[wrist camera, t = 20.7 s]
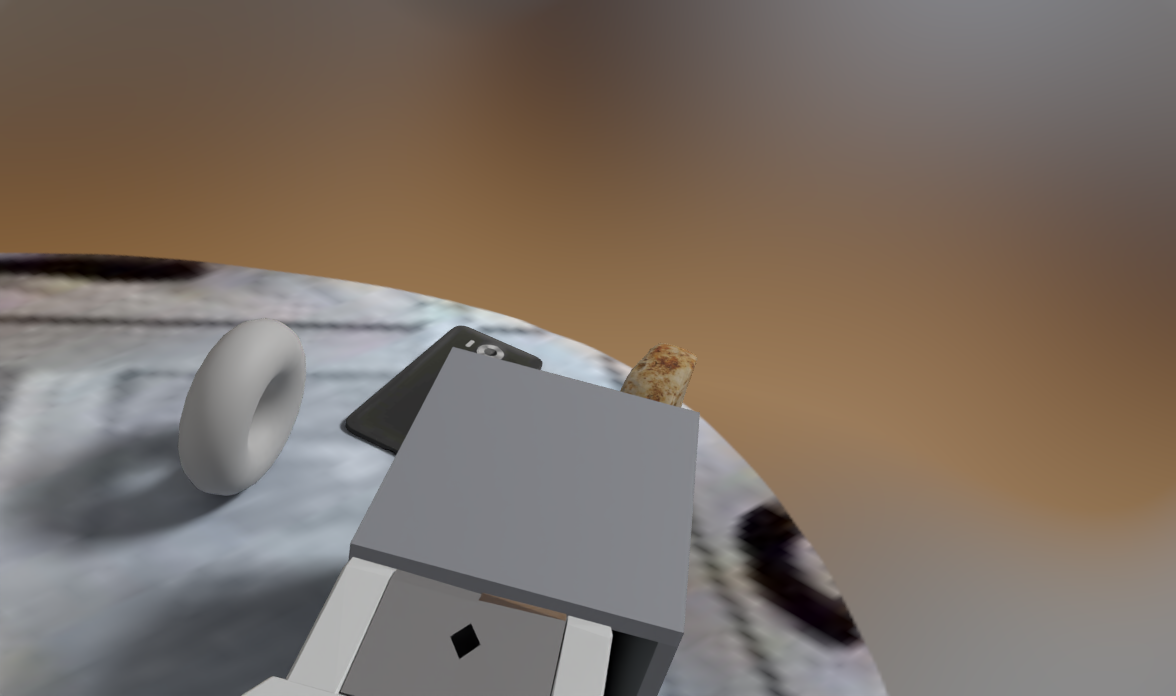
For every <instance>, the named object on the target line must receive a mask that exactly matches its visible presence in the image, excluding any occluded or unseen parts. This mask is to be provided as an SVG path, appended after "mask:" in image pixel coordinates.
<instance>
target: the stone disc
mask: <svg viewBox="0 0 1176 696" xmlns="http://www.w3.org/2000/svg"><path fill="white" fill-rule="evenodd" d="M696 361H697V357H696V356H695V355H694V354H693V353H691V352H689V351H687V350H685V349H683V348H681V347H678V346H674V345H669V344H658V345H657V346H655V347H654V348H652V349H650V351H649V353H648V354H647V355H646V356H645V357H644V358H643V359H642V360H640V361H639V363H638V364H637V365H636V366H635V367H634V368H633V369H632V370H631V372H630V374H629V375H628V376H627V378H626V380H625V382H624V384H623V386H622V388H621V391H620V392H624V393H628V394H631V395H635V396H639V397H643V398H646V399H650V400H654V401H658V402H661V403H665V404H669V405H673V406H676V407H680V408H681V406H682V403H683V399H684V395H685V393H686V389H687V387H688V384H689V382H690V379H691V376H692V373H693V371H694V367H695V365H696Z"/></svg>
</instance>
